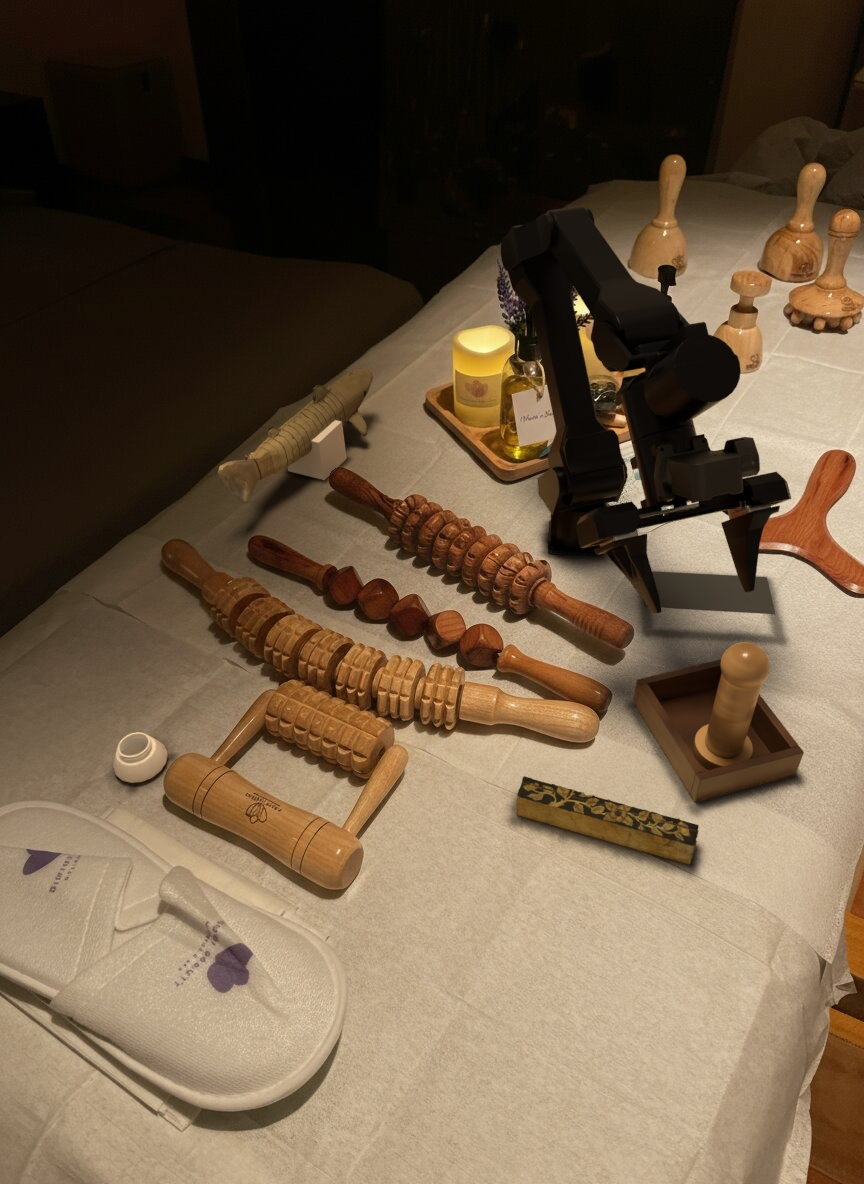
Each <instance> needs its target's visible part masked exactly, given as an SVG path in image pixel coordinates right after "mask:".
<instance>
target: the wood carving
mask: <svg viewBox="0 0 864 1184" xmlns="http://www.w3.org/2000/svg"><path fill="white" fill-rule="evenodd" d="M373 381H374V374H373V372H372V371H371V370H370V369H367V368H363V367H359V368H356V369H353V370H351V371H349V372H348V373H346V374H345V375H343V376H341V377H340V378H338V379H337V380H336V381H334V382H332V383H331V384H330V385H328V386H327V387H325V386H324V385H322V384H316V385H315V386H314V387H313V388H312V393H313V396H312V399H311V400H310V402H309V403H306V405H305V406H304V407H302V408H301V409H300V410H299V411H298V412H296V414H294V415H293V416H292V417H290V418H289V419H288V420H287V421H286V422H284V423H283V424H282V425H281V426H279V427H278V428H277V427H274V426H272V427H268V428H267V430H266V431H267V433H268V437H267V438H266V439H264V441H263V442H262V443H260V444H259V445H258V447H257V448H256V450H255V451H253V452H248V455H247V454H245V455H244V457H245V459H236V460H231V461H226V462H225V463H223V464H221V465H220V466H219V468H218V470H217V475H218V476H219V479H220V481H221V482H222V484H224V486H225V487H226V488H227V489H228V490H229V491H230V492H231V494H232V495H234V496H235V497H236V498H237V500H239V501H240V502H241V503H242V504H246V505H247V504H249V501H250V498H251V496H252V495H253V492H254V489H255V488H256V486H257V485H258V483H259V481H261V480H263V479H266V478H268V477H271V476H272V475H275V474H277V473H279V472H280V471H283V470H285V469H286V468H287V471H288V472H291V473H293V474H298V475H303V476H307V477H310V478H313V479H318V480H322V481H325V480H327V478H329V477H330V476H331V474H332V473H331V471H332V470H334V469H335V468H336V469H338V468H339V467H340V466H341V465H342V464H343V463H344V462H345V461H346V460H347V459H348V458H347V451H346V450H347V449H346V443H345V435H344V428H343V427H344V426H343V425H345V424H349V425H351V426H352V427H353V428H355V430H357V431H358V432H359V433H360V434H361V436H363V437H366V436H367V435H368V425H367V423H366V421H365V419H364V418H363V416H362V415H361V413H360V411H359V408H360V407H361V406H362V403H363V402H364V400H365V398H366V397H367V394H368V392H369V390H370V388H371V386H372V382H373ZM336 469H335V470H336ZM335 470H334V471H335ZM330 473H331V474H330ZM230 479H232V480H233V481H234V484H235V486H236V487H235V488H234V489H233V488H232V486H231V483H230Z"/></svg>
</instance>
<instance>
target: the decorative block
mask: <svg viewBox="0 0 864 1184" xmlns="http://www.w3.org/2000/svg"><path fill="white" fill-rule="evenodd" d="M516 816H519V817H523V818H526V819H530V820H532V821H537V822H540V823H544V824H547V825H551V826H554V827H557V828H561V829H564V830H568V831H571V832H575V833H579V834H582V835H585V836H589V837H592V838H595V839H599V840H602V841H606V842H608V843H609V842H610V843H612V844H616V845H620V846H623V847H626V848H630V849H633V850H637V851H640V852H644V853H647V854H650V855H653V856H657V857H661V858H664V859H667V860H672V861H675V862H678V863H682V864H685V865H691V862H692V860H693V857H694V853H695V850H696V848H697V843H698V840H697V838H698V835H699V833H700V832H699V826H700V825H699V824H696V823H693V822H689V821H685V820H682V819H680V817H676V818H675V817H671V816H668V815H663V814H660V813H658V812H657V811H656V812H655V811H650V810H647V809H643V808H639V807H635V806H631V805H628V804H624V803H621V802H617V801H613V800H611V799H609V798H608V799H606V798H603V797H598V796H596V795H594V794H586V793H585V792H583V791H578V790H575V789H572V788H567V787H563V786H562V785H557V784H555V783H549V782H545V781H541V780H538V779H534V778H533V777H529V776H525V775H524V776H522V779H521V783H520V787H519V788H518V791H517V794H516Z"/></svg>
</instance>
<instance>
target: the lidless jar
mask: <svg viewBox="0 0 864 1184" xmlns="http://www.w3.org/2000/svg"><path fill="white" fill-rule="evenodd" d="M168 756H169V755H168V752H167V749H166V746H165V745H164V743H162V742H161V741H159V739H156V738H155V737H153V736H151V735H148V734H147V733H145V732H141V731H139V732H137V731H136V732H132V733H129V734H127V735H125V736H123V738H122V739H121V740H120V741H119V742H118V744H117V747H116V752H115V754H114V759H113V762H112V763H113V764H112V767H113V772H114V774H115V776H116V777H117V778H119V779H120V780H121V781H123V782H126V783H129V784H130V783H131V784H135V783H142V782H145V781H148V780H150V779H153V778H154V777H156V775H158V774H159V773H160V772H161V771H162V770H163V769H164V767H165V765H166V764H167V761H168Z"/></svg>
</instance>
